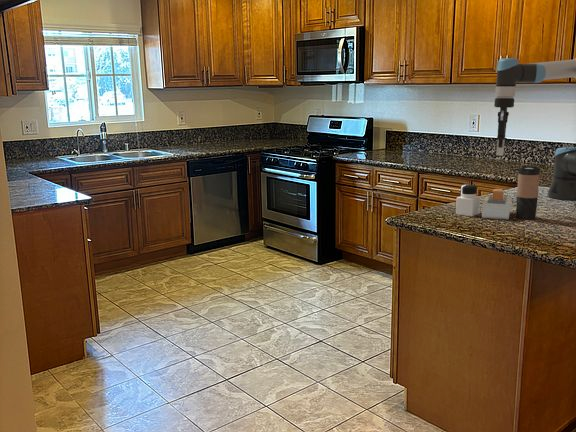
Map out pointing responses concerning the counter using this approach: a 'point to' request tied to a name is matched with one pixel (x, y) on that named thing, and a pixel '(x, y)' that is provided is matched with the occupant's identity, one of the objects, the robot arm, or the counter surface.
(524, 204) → the travel mug
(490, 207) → the grey boxy piece
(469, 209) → the medicine bottle
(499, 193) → the toggle
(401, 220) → the counter surface
